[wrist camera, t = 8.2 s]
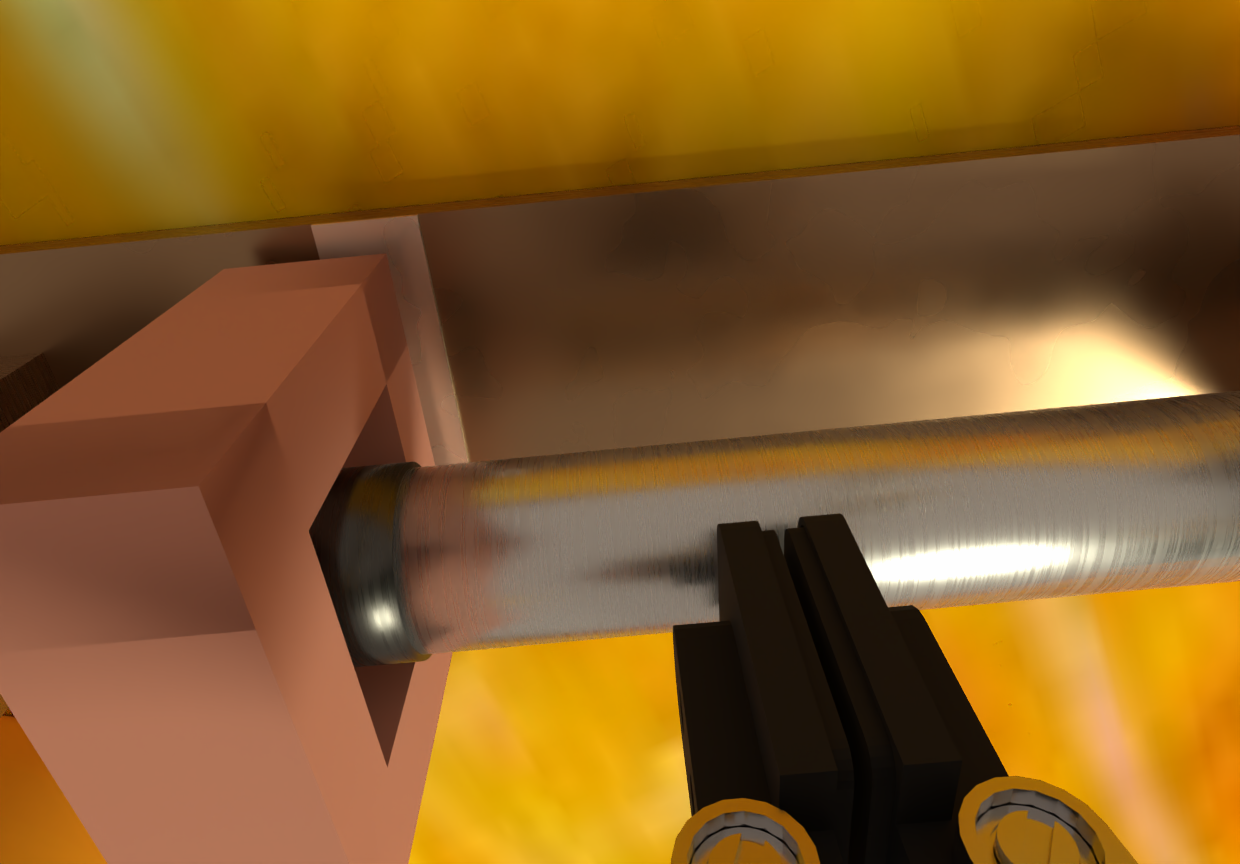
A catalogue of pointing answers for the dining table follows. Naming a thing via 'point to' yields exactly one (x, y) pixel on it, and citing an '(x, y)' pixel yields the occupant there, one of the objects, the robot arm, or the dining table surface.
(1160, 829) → the dining table surface
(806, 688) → the robot arm
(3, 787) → the beer bottle
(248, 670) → the collar
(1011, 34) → the dining table surface
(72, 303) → the pipe rig
